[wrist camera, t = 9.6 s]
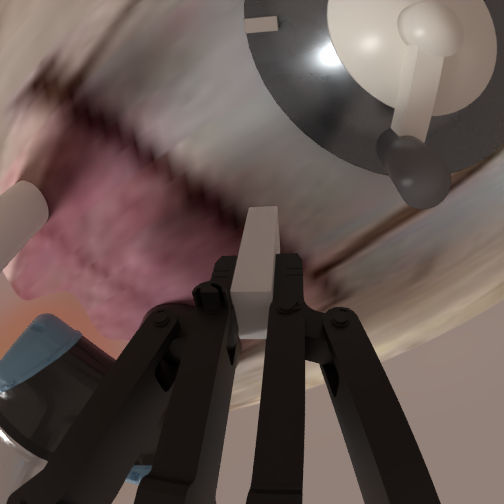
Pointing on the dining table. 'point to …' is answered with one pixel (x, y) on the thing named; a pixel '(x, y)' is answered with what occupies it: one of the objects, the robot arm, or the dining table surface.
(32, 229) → the cylindrical container
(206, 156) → the dining table surface
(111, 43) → the dining table surface
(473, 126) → the dial plate
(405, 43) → the dial
